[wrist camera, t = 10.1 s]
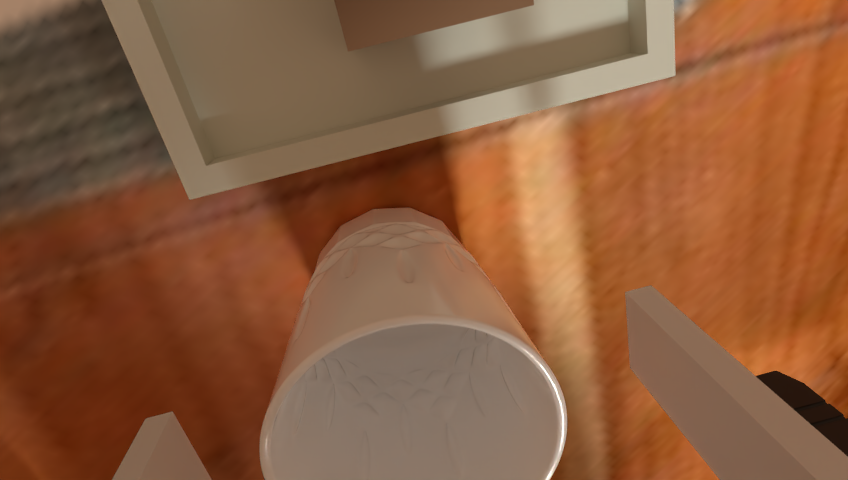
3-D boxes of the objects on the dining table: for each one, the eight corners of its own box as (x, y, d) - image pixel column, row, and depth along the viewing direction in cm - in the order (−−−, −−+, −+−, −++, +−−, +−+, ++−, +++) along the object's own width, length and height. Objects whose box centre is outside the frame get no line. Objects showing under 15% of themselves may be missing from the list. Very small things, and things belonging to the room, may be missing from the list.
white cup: (373, 153, 20) (388, 252, 10) (516, 258, 22) (628, 411, 13) (266, 298, 21) (196, 492, 12) (409, 379, 24) (441, 591, 15)
